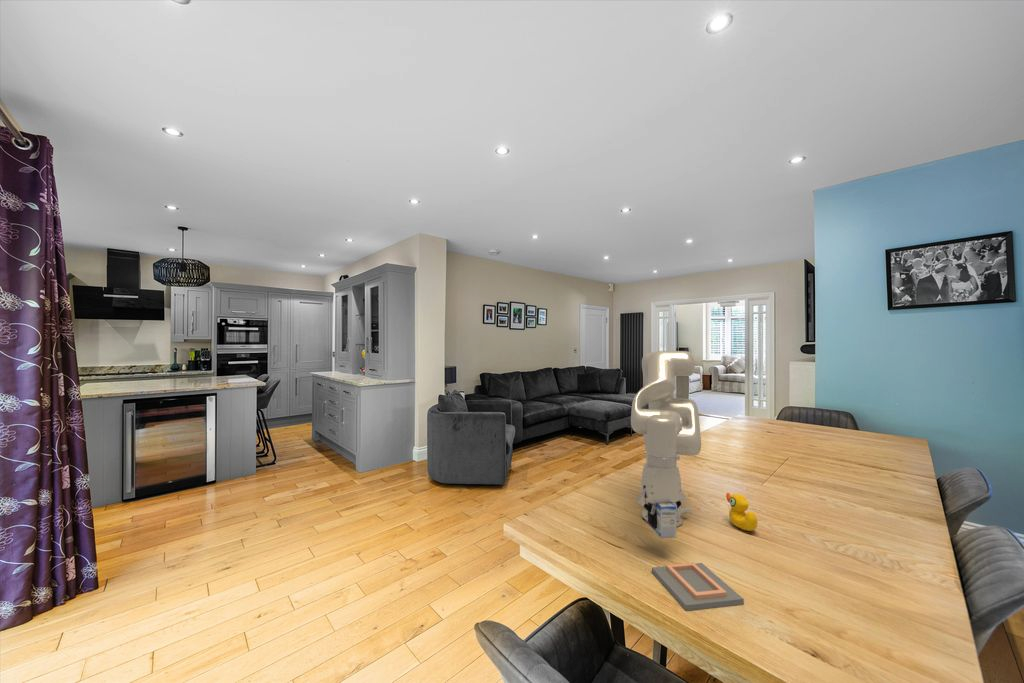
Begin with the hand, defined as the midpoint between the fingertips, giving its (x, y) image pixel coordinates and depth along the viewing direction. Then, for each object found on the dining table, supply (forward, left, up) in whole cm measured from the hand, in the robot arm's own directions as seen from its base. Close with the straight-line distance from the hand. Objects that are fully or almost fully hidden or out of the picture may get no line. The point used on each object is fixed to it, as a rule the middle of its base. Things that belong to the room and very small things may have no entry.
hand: (661, 524), depth 102 cm
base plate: (+1, +15, -8) cm, 17 cm away
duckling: (-33, -10, -8) cm, 36 cm away
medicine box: (0, 0, -2) cm, 2 cm away
